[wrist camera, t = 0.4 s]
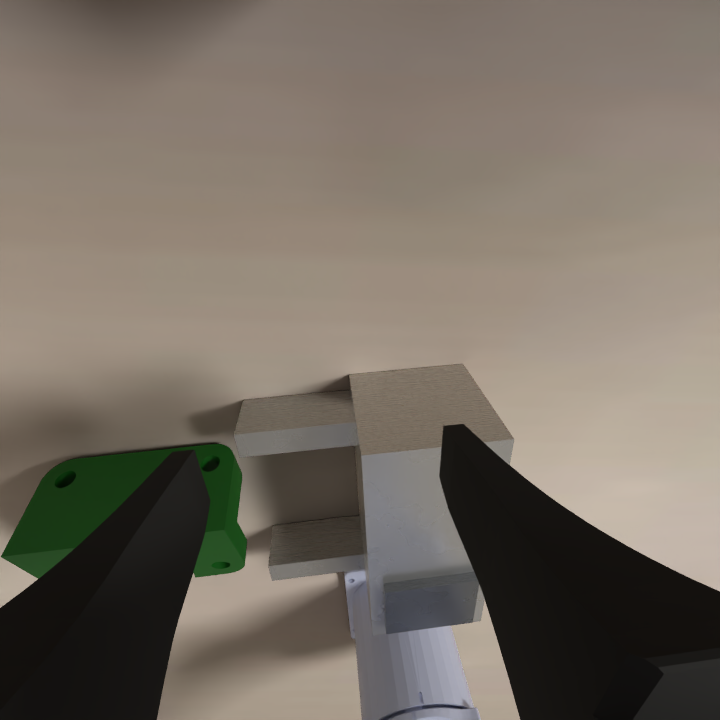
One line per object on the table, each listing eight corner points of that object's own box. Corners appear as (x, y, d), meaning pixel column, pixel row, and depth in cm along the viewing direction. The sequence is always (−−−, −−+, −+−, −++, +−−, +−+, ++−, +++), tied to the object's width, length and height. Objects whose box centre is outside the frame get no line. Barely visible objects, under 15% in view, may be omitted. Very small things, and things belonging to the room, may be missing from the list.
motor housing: (448, 527, 29) (483, 630, 23) (278, 548, 28) (268, 660, 22) (463, 363, 22) (519, 447, 16) (239, 385, 21) (209, 481, 15)
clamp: (141, 462, 28) (42, 585, 23) (105, 413, 25) (-25, 546, 19) (281, 502, 26) (210, 653, 20) (264, 455, 22) (172, 624, 16)
